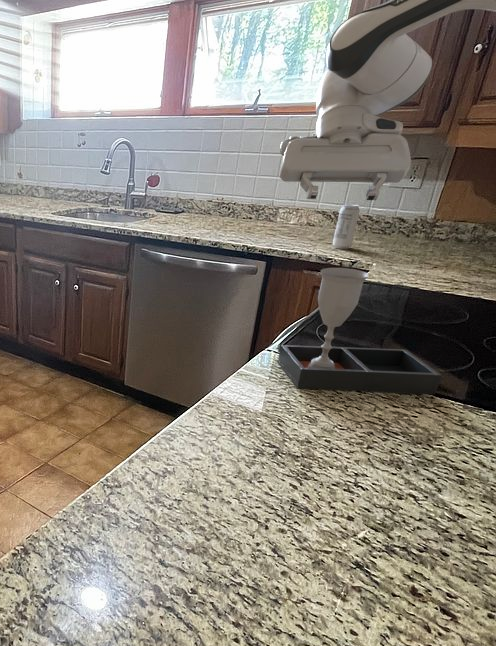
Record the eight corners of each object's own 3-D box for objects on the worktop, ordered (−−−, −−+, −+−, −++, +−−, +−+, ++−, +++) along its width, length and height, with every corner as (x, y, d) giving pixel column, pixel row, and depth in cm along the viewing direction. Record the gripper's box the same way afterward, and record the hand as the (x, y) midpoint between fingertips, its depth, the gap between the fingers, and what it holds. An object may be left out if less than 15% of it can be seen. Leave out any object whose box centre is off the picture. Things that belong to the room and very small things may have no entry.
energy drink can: (354, 248, 189) (365, 205, 183) (340, 249, 188) (350, 206, 182) (341, 245, 195) (351, 203, 189) (328, 246, 194) (337, 204, 188)
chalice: (310, 360, 98) (331, 265, 90) (349, 372, 93) (375, 272, 86) (291, 371, 93) (312, 273, 86) (332, 384, 89) (358, 280, 81)
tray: (400, 367, 96) (406, 349, 95) (435, 394, 86) (442, 375, 85) (277, 362, 99) (280, 344, 98) (297, 388, 89) (301, 369, 88)
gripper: (284, 124, 97) (281, 184, 93) (413, 122, 91) (416, 186, 87) (277, 149, 103) (273, 207, 98) (398, 148, 97) (400, 210, 92)
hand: (341, 197), depth 93 cm, fingers open, 8 cm apart
